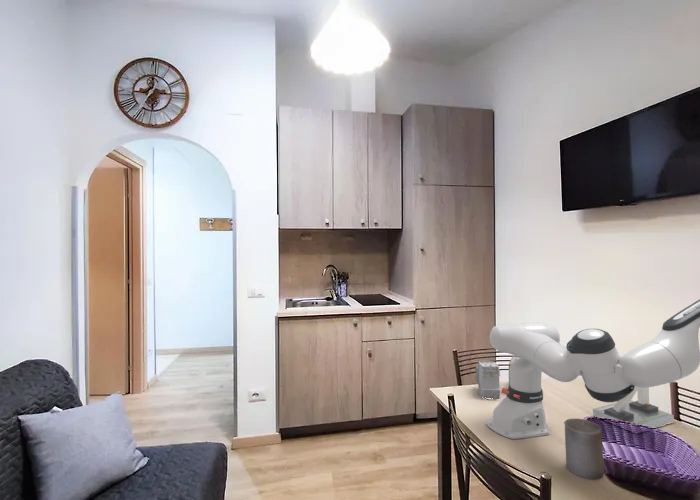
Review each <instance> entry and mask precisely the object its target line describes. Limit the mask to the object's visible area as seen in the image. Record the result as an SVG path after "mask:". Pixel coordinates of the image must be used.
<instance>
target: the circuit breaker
mask: <svg viewBox="0 0 700 500" xmlns="http://www.w3.org/2000/svg"><path fill="white" fill-rule="evenodd" d="M499 368H500V366H499V364H497V362H495V361H494V360H493V361H492V360H491V361H490V360H489V361H485V360H484V361H483V360H481V361H477V366H475V378H476V379H475V380H476V382H475V383H477V385H478V393H479V392H480V394H481V395H480V394H479V395H480V396H482V397H483V398H484V399H486V398H491V399H492V398H493V399H497V398H498V399H500V400H501V398H500V397H501V389H500V376H501V374H500V372H501V370H500V369H499ZM482 397H481V398H482ZM485 397H486V398H485ZM483 398H482V399H483Z"/></svg>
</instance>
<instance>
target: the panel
mask: <svg viewBox="0 0 700 500" xmlns="http://www.w3.org/2000/svg"><path fill="white" fill-rule="evenodd" d="M616 403H617V402H613V403H611V404H607V405H603V406H599V407H595V408H592V417H593V416H596V417H604V418H610V419H615V420H621V421H628V422H632V423H635V424H639V425H645V426H650V427H658V426H661V425H664V424H666V423H669V422H672V421H674V422H675V419H674V416H675V415H674V414H672V413H669V412H666V411H662V410H660V409H659V406H656V405H653V404H651V403H650V402H649V403H647V404H640V403H638V400H636V401H634V400H631V401H630V402H629V404H628V406H627V407H626V409H625V410H624V411H622V412H617V411H616V410H614V409H613V408H614V406H615V404H616Z"/></svg>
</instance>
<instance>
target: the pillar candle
mask: <svg viewBox="0 0 700 500" xmlns="http://www.w3.org/2000/svg"><path fill="white" fill-rule="evenodd" d="M563 424H564V442H565V465H566V468H567V470H568V471H569V472H571V474H572V473H573V474H575V475H577V476H578V477H580V478H583V479H587V480H599V479H602V478H603V477H604V476H605V475H604V471H605V470H604V453H603V452H604V450H603V435H602V434H603V433H602V428H601V426H600V425H599V424H597V423H595V422H594V421H591V420H587V419H583V418H568V419H566V420H565V421H564V422H563Z"/></svg>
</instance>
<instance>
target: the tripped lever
mask: <svg viewBox="0 0 700 500" xmlns="http://www.w3.org/2000/svg"><path fill="white" fill-rule="evenodd" d="M636 393H637V401H638V403H640V404H647V403H649V404H650V387H647V388H640V387H639V388H638V390H637V392H636Z"/></svg>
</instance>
